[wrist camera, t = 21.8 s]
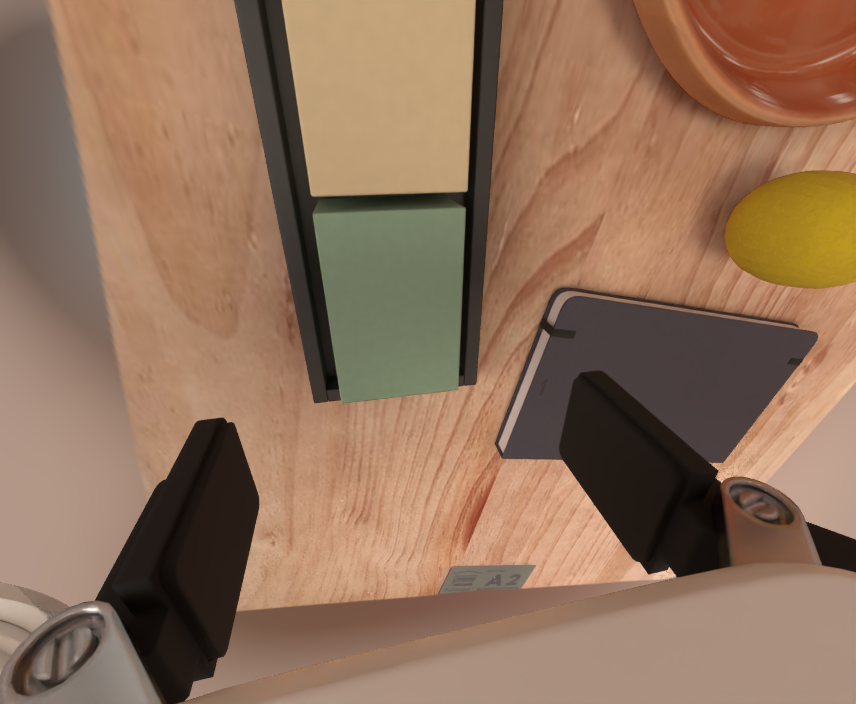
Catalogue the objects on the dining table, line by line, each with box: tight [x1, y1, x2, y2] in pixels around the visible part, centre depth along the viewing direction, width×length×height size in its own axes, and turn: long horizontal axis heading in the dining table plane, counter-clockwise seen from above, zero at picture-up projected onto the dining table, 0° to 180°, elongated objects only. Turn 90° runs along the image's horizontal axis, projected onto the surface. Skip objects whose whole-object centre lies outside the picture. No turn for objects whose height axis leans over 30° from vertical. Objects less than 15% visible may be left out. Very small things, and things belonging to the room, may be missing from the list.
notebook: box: [495, 288, 818, 463], centre depth 28 cm, size 13×2×21 cm
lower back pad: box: [313, 195, 466, 403], centre depth 18 cm, size 6×9×4 cm, turn 0°
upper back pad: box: [282, 0, 476, 197], centre depth 14 cm, size 6×9×4 cm, turn 0°
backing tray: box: [234, 0, 503, 403], centre depth 17 cm, size 10×22×2 cm, turn 0°
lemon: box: [725, 171, 856, 289], centre depth 19 cm, size 6×6×8 cm
